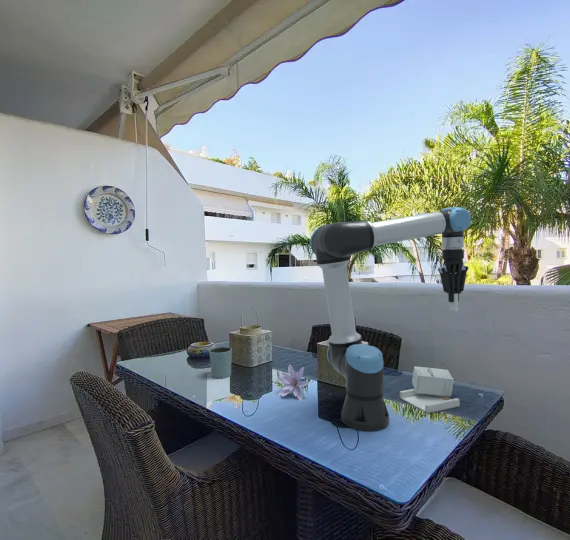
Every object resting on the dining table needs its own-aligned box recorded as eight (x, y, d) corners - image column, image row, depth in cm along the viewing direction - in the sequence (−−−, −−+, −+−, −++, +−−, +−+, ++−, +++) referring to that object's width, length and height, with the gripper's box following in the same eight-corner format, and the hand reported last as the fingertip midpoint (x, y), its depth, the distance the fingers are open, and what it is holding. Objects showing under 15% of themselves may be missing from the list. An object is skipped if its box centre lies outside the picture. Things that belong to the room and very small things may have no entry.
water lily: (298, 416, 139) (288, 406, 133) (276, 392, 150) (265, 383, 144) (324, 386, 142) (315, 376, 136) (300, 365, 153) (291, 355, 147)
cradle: (427, 413, 123) (427, 406, 123) (399, 398, 137) (399, 391, 136) (459, 406, 128) (459, 399, 128) (429, 392, 142) (429, 385, 142)
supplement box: (454, 379, 132) (418, 375, 134) (451, 397, 134) (415, 393, 135) (448, 369, 139) (413, 365, 141) (444, 386, 141) (411, 382, 142)
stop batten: (455, 405, 129) (455, 402, 129) (430, 393, 140) (430, 390, 140) (457, 404, 130) (457, 401, 129) (432, 393, 141) (432, 390, 141)
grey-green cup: (234, 372, 170) (234, 346, 169) (229, 379, 160) (228, 352, 159) (213, 372, 171) (212, 346, 170) (206, 379, 161) (205, 352, 160)
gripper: (446, 249, 134) (447, 313, 135) (474, 248, 138) (475, 310, 139) (432, 249, 141) (433, 310, 142) (458, 248, 145) (459, 307, 146)
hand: (453, 310), depth 141 cm, fingers closed
